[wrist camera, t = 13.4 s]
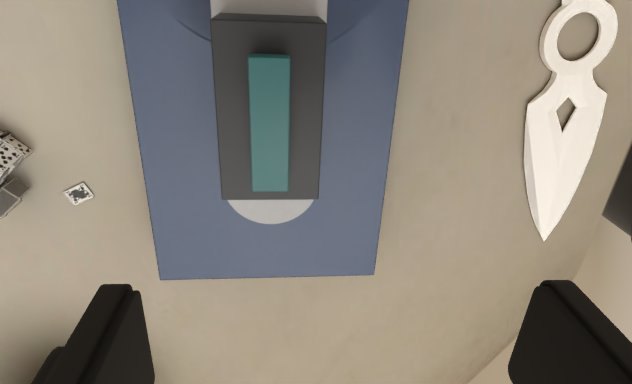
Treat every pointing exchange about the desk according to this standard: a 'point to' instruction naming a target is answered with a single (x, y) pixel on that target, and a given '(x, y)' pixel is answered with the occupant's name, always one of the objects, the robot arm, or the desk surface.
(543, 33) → the knife
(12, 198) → the house of cards
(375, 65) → the blue rectangular board
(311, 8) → the iron
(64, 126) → the desk surface
